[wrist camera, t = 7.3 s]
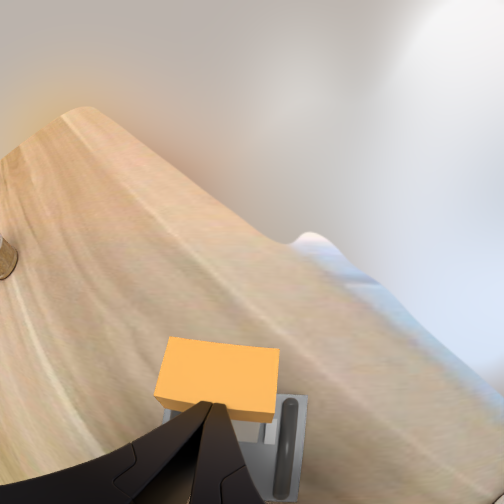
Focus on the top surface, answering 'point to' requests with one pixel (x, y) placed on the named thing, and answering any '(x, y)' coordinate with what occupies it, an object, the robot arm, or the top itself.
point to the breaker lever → (221, 381)
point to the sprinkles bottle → (6, 258)
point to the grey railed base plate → (275, 449)
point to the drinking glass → (500, 500)
